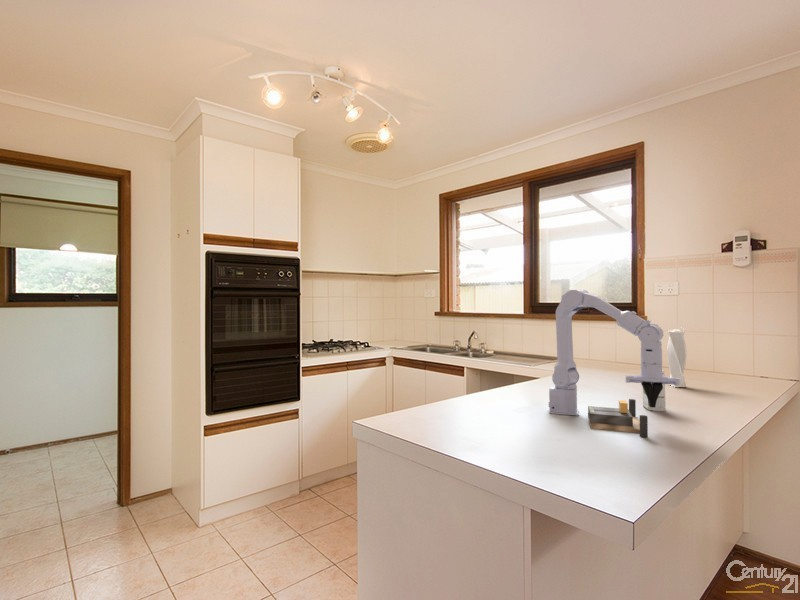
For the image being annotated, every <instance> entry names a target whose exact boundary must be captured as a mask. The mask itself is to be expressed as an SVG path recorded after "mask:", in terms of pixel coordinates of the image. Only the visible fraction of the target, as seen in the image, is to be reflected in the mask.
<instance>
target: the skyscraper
mask: <svg viewBox="0 0 800 600" xmlns="http://www.w3.org/2000/svg"><path fill="white" fill-rule="evenodd" d="M667 333H668V335H669V337H668V341H667V348H666V355H667V356H666V358H667V364H668V369H669V374H670V375H669V377H670V378H679V379H680V385H671V384H667V386H668V385H671V386H674V387H673V388H675V387H687V384H686V381H685V376H684V372H685V367H686V363H687V346H686V340H685V337H684V335H685V333H686V331H685V327H684V326H681V327H680V329H668V330H667ZM671 386H670V387H671Z"/></svg>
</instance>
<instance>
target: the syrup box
mask: <svg viewBox="0 0 800 600" xmlns="http://www.w3.org/2000/svg"><path fill="white" fill-rule="evenodd" d="M662 377H666V376H665V371H664V370H662ZM650 382H653V381H650ZM662 385H663V389H662V390H661V392H660V394H659V396H658V398H657V401H656V406H655V408H654V407H650V406H649V402H648V398H647V395H646V393H645V390H644V388H643V387H642V400H643V402H642V403H643V408H645V410H648V411H650V410H653V412H666V409H667V408H666V384H662Z"/></svg>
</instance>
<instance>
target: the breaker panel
mask: <svg viewBox="0 0 800 600" xmlns="http://www.w3.org/2000/svg"><path fill="white" fill-rule="evenodd" d="M587 407H588V408H587V419H588V422H589V427H590V429H595V430H604V431H605V430H606V431H613V432H614V431H617V432H626V433H635V432H636V433H635V434H640V418H639V417H638V416H636V417H632V415H631V413H630V412H629V409H628V413H621V412H620V410H619V407H618V408H615V407H603V406H592V405H591V406H590V405H588V406H587Z"/></svg>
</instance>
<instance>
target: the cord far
mask: <svg viewBox="0 0 800 600" xmlns="http://www.w3.org/2000/svg"><path fill="white" fill-rule="evenodd" d="M636 405H637V403H636V399H633V398H629V399H628V410H629V412H630V413H631V415H632V417H637V416H636V415H637V414H636V412H637V411H636Z"/></svg>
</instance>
